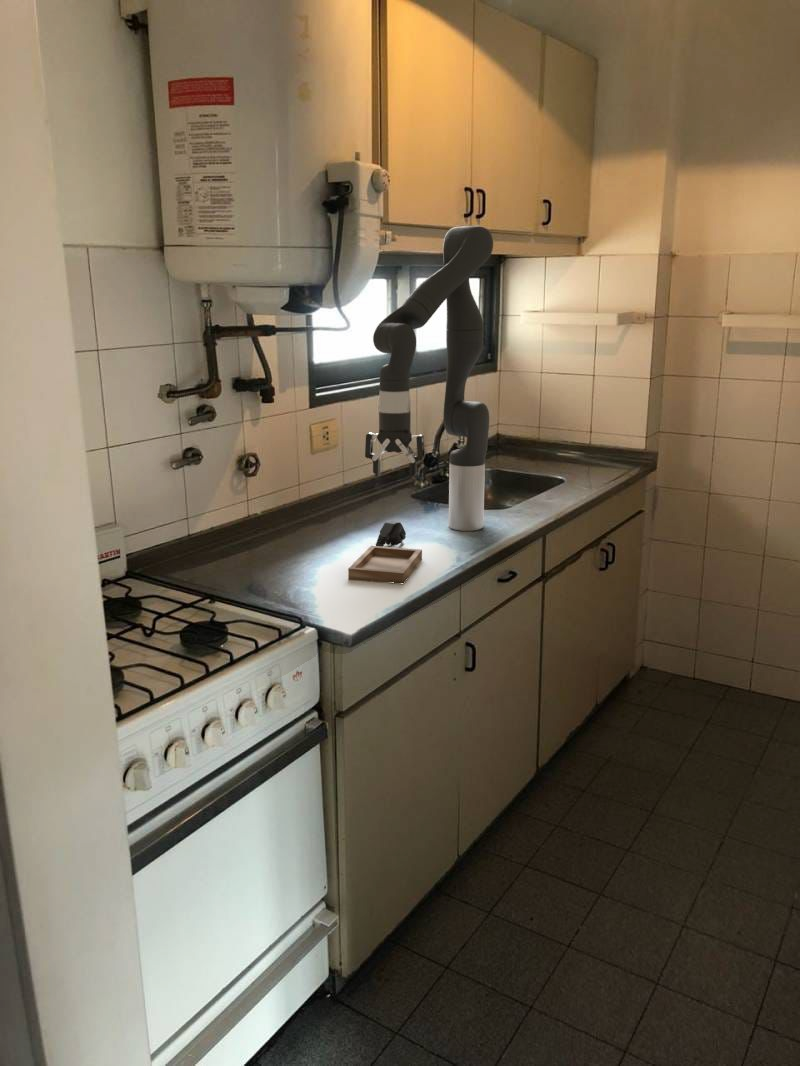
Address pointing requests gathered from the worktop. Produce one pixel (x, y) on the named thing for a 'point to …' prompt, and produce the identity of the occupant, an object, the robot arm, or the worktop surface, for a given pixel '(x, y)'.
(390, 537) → the power plug
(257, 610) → the worktop surface
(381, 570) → the brown tray
